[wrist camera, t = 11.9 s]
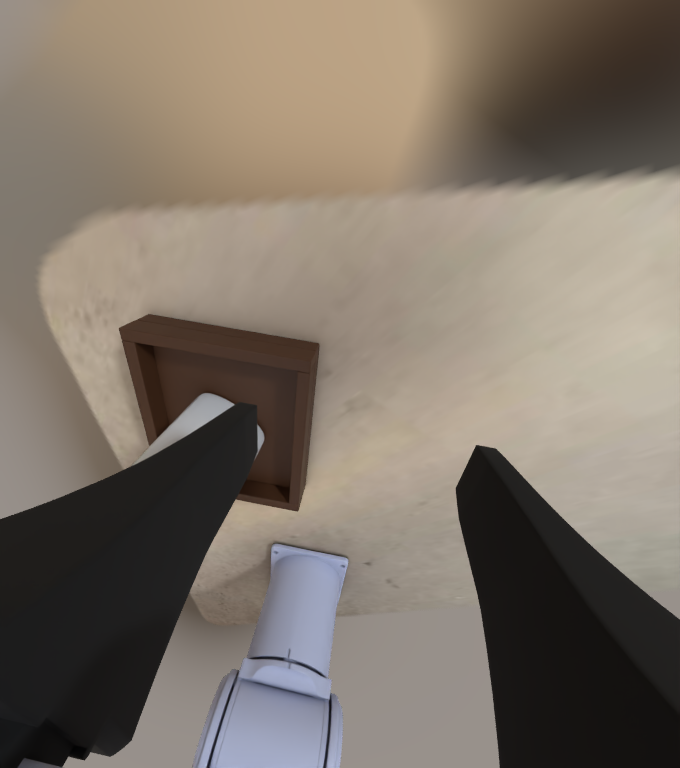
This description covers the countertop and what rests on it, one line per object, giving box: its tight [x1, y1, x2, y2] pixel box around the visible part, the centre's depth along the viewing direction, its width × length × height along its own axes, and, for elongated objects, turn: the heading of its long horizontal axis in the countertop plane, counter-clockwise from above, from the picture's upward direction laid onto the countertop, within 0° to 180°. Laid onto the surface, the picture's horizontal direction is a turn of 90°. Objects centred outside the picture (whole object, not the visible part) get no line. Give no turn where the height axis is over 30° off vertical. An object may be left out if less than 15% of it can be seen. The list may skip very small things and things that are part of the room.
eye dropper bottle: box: [132, 393, 264, 466], centre depth 17 cm, size 4×6×12 cm
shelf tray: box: [119, 314, 319, 511], centre depth 23 cm, size 14×12×3 cm
